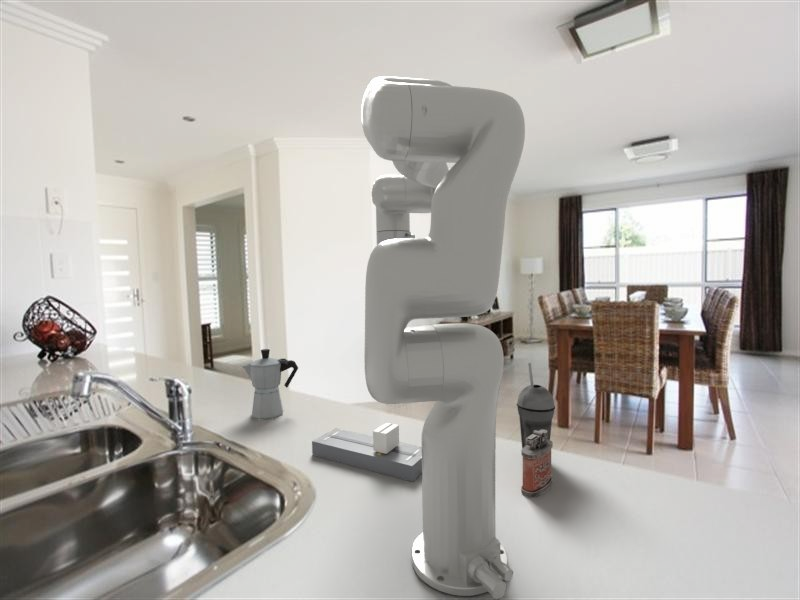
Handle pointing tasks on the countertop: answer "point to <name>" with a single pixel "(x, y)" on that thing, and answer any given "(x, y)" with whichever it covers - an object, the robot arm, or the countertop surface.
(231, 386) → the countertop surface
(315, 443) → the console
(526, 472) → the lighter
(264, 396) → the coffee maker
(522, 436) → the beverage cup
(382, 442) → the fader knob
